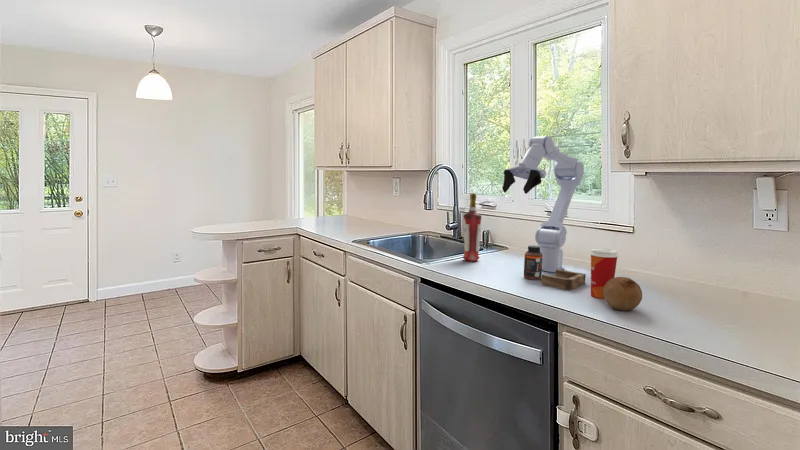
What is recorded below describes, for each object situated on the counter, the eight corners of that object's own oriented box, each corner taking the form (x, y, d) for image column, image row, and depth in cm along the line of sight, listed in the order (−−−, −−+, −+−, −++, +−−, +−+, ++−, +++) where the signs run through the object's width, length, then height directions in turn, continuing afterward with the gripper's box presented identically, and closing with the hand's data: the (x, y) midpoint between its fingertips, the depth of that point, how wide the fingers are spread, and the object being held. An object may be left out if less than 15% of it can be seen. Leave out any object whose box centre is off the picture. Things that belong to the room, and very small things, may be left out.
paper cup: (592, 291, 132) (595, 247, 130) (619, 296, 127) (622, 250, 125) (582, 296, 127) (585, 250, 125) (609, 302, 121) (613, 253, 119)
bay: (557, 278, 148) (557, 269, 148) (585, 283, 142) (585, 274, 141) (541, 284, 139) (541, 275, 139) (570, 290, 133) (570, 280, 132)
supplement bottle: (542, 280, 145) (544, 248, 143) (524, 279, 146) (525, 247, 144) (540, 276, 150) (541, 245, 149) (522, 275, 152) (524, 244, 150)
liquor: (461, 258, 180) (462, 192, 177) (478, 258, 180) (480, 193, 177) (463, 262, 173) (465, 193, 169) (481, 262, 173) (483, 194, 169)
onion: (631, 324, 112) (645, 296, 106) (595, 308, 116) (606, 281, 111) (637, 303, 119) (650, 276, 113) (602, 289, 123) (613, 263, 117)
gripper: (507, 153, 147) (491, 181, 141) (547, 153, 137) (531, 182, 131) (514, 168, 151) (498, 195, 145) (553, 169, 141) (537, 198, 135)
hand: (514, 190), depth 138 cm, fingers open, 7 cm apart
